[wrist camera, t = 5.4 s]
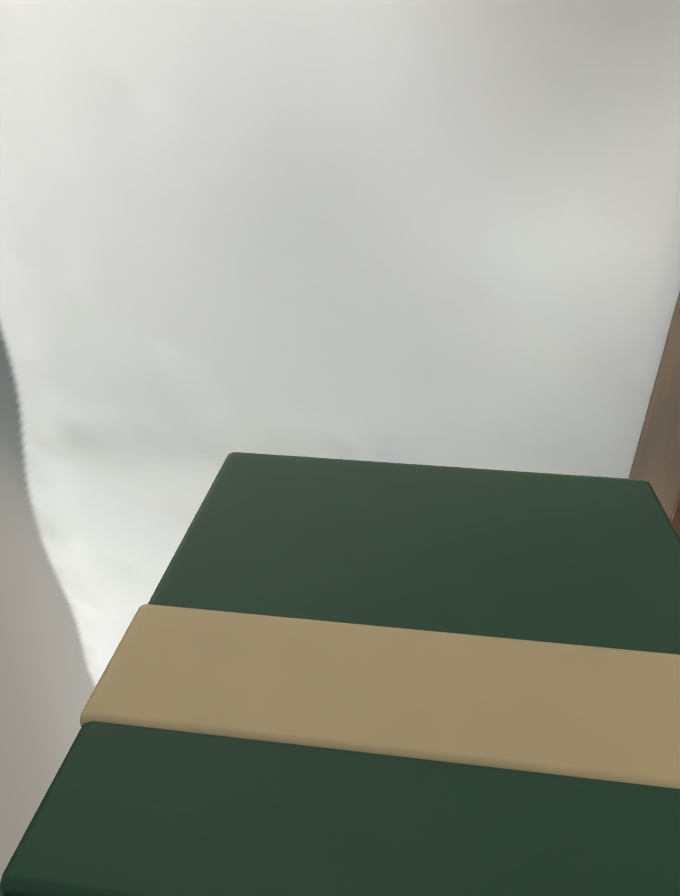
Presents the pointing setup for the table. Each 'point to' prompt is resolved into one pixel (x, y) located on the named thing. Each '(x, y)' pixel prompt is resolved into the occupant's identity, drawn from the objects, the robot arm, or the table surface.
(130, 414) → the table surface
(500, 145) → the table surface
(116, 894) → the tea packet
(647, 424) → the step shelf
